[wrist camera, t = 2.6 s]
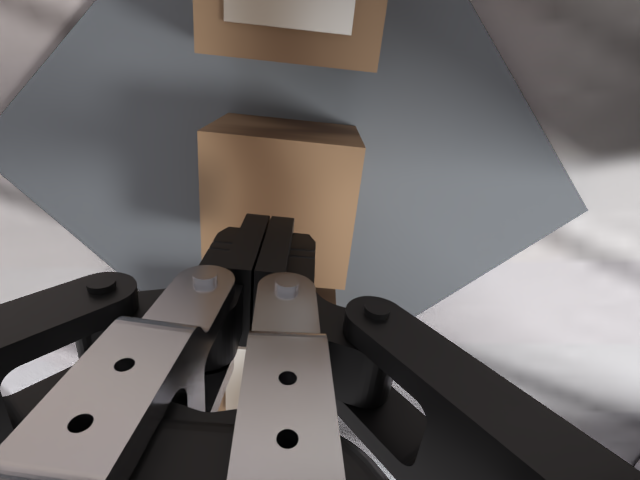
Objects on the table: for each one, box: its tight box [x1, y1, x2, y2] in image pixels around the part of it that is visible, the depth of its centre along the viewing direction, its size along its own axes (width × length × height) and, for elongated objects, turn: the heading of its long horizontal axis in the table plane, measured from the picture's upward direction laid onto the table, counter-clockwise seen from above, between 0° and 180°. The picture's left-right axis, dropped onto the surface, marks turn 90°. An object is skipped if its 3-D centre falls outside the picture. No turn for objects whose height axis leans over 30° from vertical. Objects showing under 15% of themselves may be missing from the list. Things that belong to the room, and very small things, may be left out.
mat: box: [0, 0, 588, 317], centre depth 20 cm, size 22×22×1 cm
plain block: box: [197, 113, 366, 290], centre depth 17 cm, size 6×6×5 cm
